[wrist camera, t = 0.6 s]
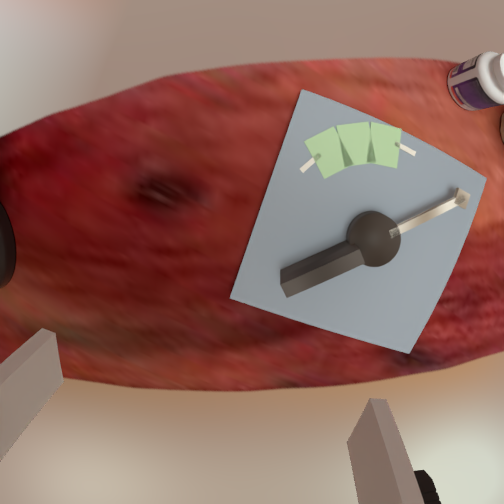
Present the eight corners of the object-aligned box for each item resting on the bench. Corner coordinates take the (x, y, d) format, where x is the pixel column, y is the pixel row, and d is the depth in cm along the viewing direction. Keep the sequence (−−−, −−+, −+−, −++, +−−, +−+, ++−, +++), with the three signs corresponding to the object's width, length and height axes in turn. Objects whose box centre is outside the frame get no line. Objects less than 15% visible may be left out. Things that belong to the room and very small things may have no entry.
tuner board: (231, 292, 35) (229, 298, 33) (301, 91, 29) (302, 87, 27) (405, 347, 35) (409, 354, 34) (479, 176, 29) (487, 177, 27)
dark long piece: (453, 169, 28) (473, 172, 24) (467, 214, 29) (487, 221, 25) (272, 253, 32) (271, 266, 28) (293, 297, 33) (295, 314, 29)
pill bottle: (485, 113, 27) (538, 106, 18) (449, 108, 27) (499, 95, 18) (479, 70, 25) (528, 52, 16) (442, 62, 26) (488, 38, 17)
